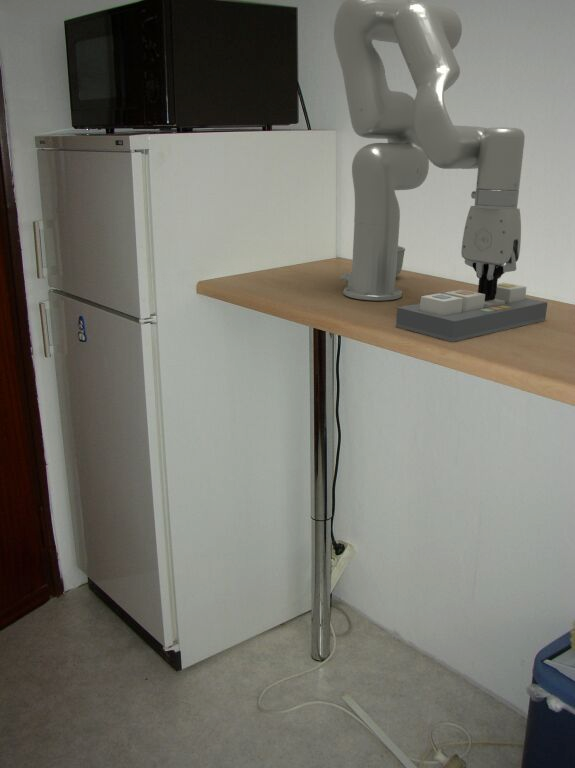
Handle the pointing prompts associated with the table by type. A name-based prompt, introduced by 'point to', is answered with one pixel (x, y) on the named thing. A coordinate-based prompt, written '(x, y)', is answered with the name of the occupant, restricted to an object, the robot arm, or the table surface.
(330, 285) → the table surface
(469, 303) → the key terracotta
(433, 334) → the keypad base
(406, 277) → the table surface
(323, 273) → the table surface
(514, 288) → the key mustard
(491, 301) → the key sage
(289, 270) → the table surface
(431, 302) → the key slate
